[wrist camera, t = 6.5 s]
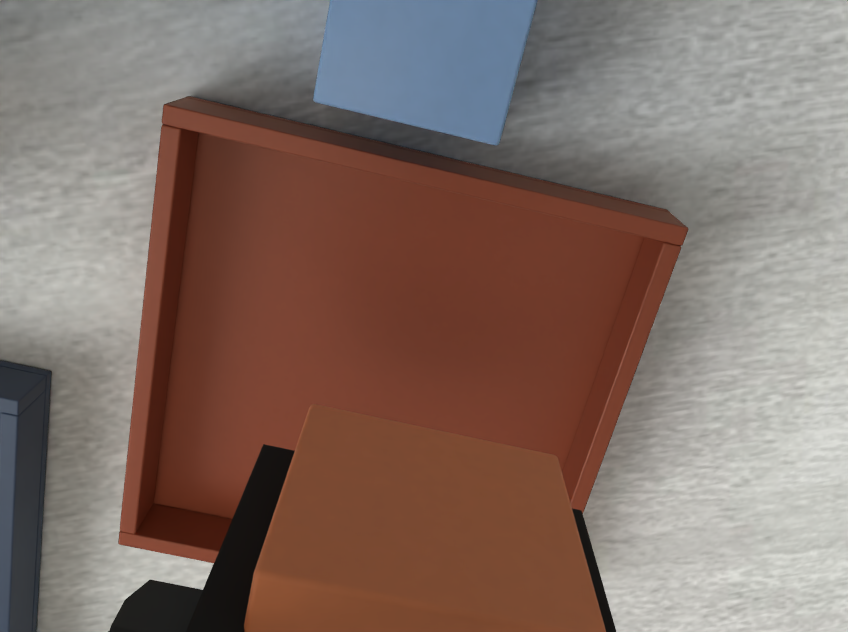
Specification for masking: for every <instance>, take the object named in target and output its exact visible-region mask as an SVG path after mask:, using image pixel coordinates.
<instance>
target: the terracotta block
mask: <svg viewBox="0 0 848 632" xmlns="http://www.w3.org/2000/svg"><path fill="white" fill-rule="evenodd" d="M244 630H245V631H244V632H606V629H605V626H604V622H603V619H602V615H601V611H600V608H599V604H598V601H597V597H596V593H595V590H594V586H593V583H592V579H591V575H590V572H589V568H588V565H587V561H586V558H585V554H584V550H583V547H582V543H581V540H580V536H579V532H578V529H577V525H576V522H575V518H574V514H573V511H572V507H571V504H570V500H569V496H568V493H567V489H566V486H565V482H564V479H563V475H562V471H561V468H560V464H559V461H558V457H557V456H555V455H552V454H547V453H542V452H538V451H533V450H528V449H523V448H519V447H514V446H509V445H505V444H500V443H495V442H491V441H486V440H481V439H476V438H472V437H467V436H462V435H458V434H453V433H448V432H443V431H439V430H434V429H429V428H425V427H420V426H415V425H411V424H406V423H401V422H396V421H392V420H387V419H382V418H378V417H373V416H368V415H363V414H359V413H354V412H349V411H345V410H340V409H335V408H330V407H326V406H321V405H316V404H313V405H311V406H310V408H309V410H308V413H307V416H306V419H305V422H304V425H303V428H302V431H301V434H300V437H299V440H298V443H297V446H296V449H295V452H294V455H293V458H292V461H291V464H290V467H289V470H288V473H287V476H286V479H285V482H284V484H283V487H282V490H281V493H280V496H279V499H278V502H277V505H276V508H275V511H274V514H273V517H272V520H271V523H270V526H269V529H268V532H267V535H266V538H265V541H264V544H263V547H262V550H261V553H260V556H259V559H258V562H257V565H256V568H255V571H254V574H253V579H252V585H251V590H250V596H249V601H248V606H247V612H246V617H245V622H244Z"/></svg>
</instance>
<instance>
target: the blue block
mask: <svg viewBox="0 0 848 632" xmlns="http://www.w3.org/2000/svg"><path fill="white" fill-rule="evenodd" d="M536 4H537V0H330V4H329V10H328V16H327V21H326V27H325V33H324V39H323V44H322V50H321V56H320V62H319V68H318V73H317V79H316V85H315V91H314V97H313V99H314V101H315V102H316V103H320V104H324V105H328V106H332V107H336V108H341V109H345V110H349V111H353V112H357V113H361V114H366V115H370V116H374V117H378V118H382V119H386V120H391V121H395V122H399V123H403V124H407V125H411V126H416V127H420V128H424V129H428V130H432V131H436V132H441V133H445V134H449V135H453V136H457V137H461V138H466V139H470V140H474V141H478V142H482V143H487V144H491V145H498V144H499V143H500V140H501V136H502V132H503V128H504V125H505V121H506V117H507V113H508V110H509V106H510V102H511V98H512V95H513V91H514V87H515V83H516V80H517V76H518V72H519V68H520V64H521V61H522V57H523V53H524V49H525V46H526V42H527V38H528V34H529V31H530V27H531V23H532V19H533V15H534V12H535V8H536Z"/></svg>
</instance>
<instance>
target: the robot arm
mask: <svg viewBox="0 0 848 632" xmlns="http://www.w3.org/2000/svg"><path fill="white" fill-rule="evenodd" d="M294 452H295V451H294V450H289V449H284V448H280V447H275V446H270V445H265V444H263V446H262V448H261V451H260V453H259V456H258V458H257V461H256V463H255V465H254V468H253V470H252V473H251V475H250V477H249V480H248V482H247V485H246V487H245V490H244V492H243V494H242V497H241V499H240V502H239V504H238V507H237V509H236V511H235V514H234V516H233V519H232V521H231V524H230V526H229V528H228V531H227V533H226V536H225V538H224V541H223V543H222V545H221V548H220V550H219V553H218V555H217V557H216V560H215V562H214V565H213V567H212V570H211V572H210V574H209V577H208V579H207V582H206V584H205V587H204V589H203V590H200V589H195V588H190V587H185V586H180V585H175V584H170V583H164V582H159V581H154V580H149V581H148V582H147V583H145V584H144V585H143V586H142V587H140V588H139V589H138V590H137V591H135V592H134V593H133V594H132V595H131V596H129V597H128V598H127V599H126V600H125V601H124V603H123V605H122V607H121V608H120V610H119V612H118V614H117V616H116V618H115V620H114V621H113V623H112V625H111V628H110V631H108V632H244V631H245V630H244V622H245V617H246V612H247V606H248V601H249V596H250V590H251V585H252V579H253V574H254V571H255V568H256V565H257V562H258V559H259V556H260V553H261V550H262V547H263V544H264V541H265V538H266V535H267V532H268V529H269V526H270V523H271V520H272V517H273V514H274V511H275V508H276V505H277V502H278V499H279V496H280V493H281V490H282V487H283V484H284V482H285V479H286V476H287V473H288V470H289V467H290V464H291V461H292V458H293V455H294ZM572 511H573V514H574V518H575V522H576V525H577V529H578V532H579V536H580V540H581V543H582V547H583V550H584V554H585V558H586V561H587V565H588V568H589V572H590V575H591V579H592V583H593V586H594V590H595V593H596V597H597V601H598V604H599V608H600V611H601V615H602V619H603V622H604V626H605V629H606V632H616V629H615V626H614V622H613V619H612V615H611V612H610V608H609V605H608V601H607V598H606V594H605V591H604V587H603V584H602V580H601V577H600V573H599V570H598V566H597V563H596V559H595V556H594V552H593V549H592V545H591V542H590V538H589V535H588V532H587V528H586V525H585V521H584V518H583V514H582V511H581V510H578V509H573V508H572Z"/></svg>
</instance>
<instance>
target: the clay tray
mask: <svg viewBox="0 0 848 632" xmlns="http://www.w3.org/2000/svg"><path fill="white" fill-rule="evenodd" d="M162 124H163V125H162V127H161V136H160V146H159V156H158V165H157V175H156V185H155V194H154V204H153V213H152V223H151V233H150V242H149V252H148V262H147V271H146V281H145V291H144V300H143V310H142V320H141V329H140V339H139V348H138V358H137V368H136V377H135V387H134V397H133V406H132V416H131V426H130V435H129V445H128V455H127V464H126V474H125V483H124V493H123V503H122V512H121V522H120V532H119V541H118V543H119V544H120V545H125V546H130V547H135V548H140V549H145V550H150V551H155V552H160V553H165V554H171V555H176V556H181V557H186V558H191V559H196V560H201V561H206V562H211V563H214V562H215V560H216V557H217V555H218V553H219V550H220V548H221V545H222V543H223V541H224V538H225V536H226V533H227V531H228V528H229V526H230V524H231V521H232V519H233V516H234V514H235V511H236V509H237V507H238V504H239V502H240V499H241V497H242V494H243V492H244V490H245V487H246V485H247V482H248V480H249V477H250V475H251V473H252V470H253V468H254V465H255V463H256V461H257V458H258V456H259V453H260V451H261V448H262V446H263V444H265V445H270V446H275V447H280V448H284V449H289V450H294V451H295V449H296V446H297V443H298V440H299V437H300V434H301V431H302V428H303V425H304V422H305V419H306V416H307V413H308V410H309V408H310V406H311V405H313V404H316V405H321V406H326V407H330V408H335V409H340V410H345V411H349V412H354V413H359V414H363V415H368V416H373V417H378V418H382V419H387V420H392V421H396V422H401V423H406V424H411V425H415V426H420V427H425V428H429V429H434V430H439V431H443V432H448V433H453V434H458V435H462V436H467V437H472V438H476V439H481V440H486V441H491V442H495V443H500V444H505V445H509V446H514V447H519V448H523V449H528V450H533V451H538V452H542V453H547V454H552V455H555V456H557V457H558V461H559V464H560V468H561V471H562V475H563V479H564V482H565V486H566V489H567V493H568V496H569V500H570V504H571V507H572V508H573V509H578V510H581V511H582V514H583V512H584V509H585V506H586V504H587V501H588V498H589V496H590V493H591V490H592V488H593V485H594V482H595V479H596V477H597V474H598V471H599V469H600V466H601V463H602V461H603V458H604V455H605V452H606V450H607V447H608V444H609V442H610V439H611V436H612V434H613V431H614V428H615V425H616V423H617V420H618V417H619V415H620V412H621V409H622V407H623V404H624V401H625V398H626V396H627V393H628V390H629V388H630V385H631V382H632V380H633V377H634V374H635V371H636V369H637V366H638V363H639V361H640V358H641V355H642V353H643V350H644V347H645V344H646V342H647V339H648V336H649V334H650V331H651V328H652V326H653V323H654V320H655V317H656V315H657V312H658V309H659V307H660V304H661V301H662V299H663V296H664V293H665V290H666V288H667V285H668V282H669V280H670V277H671V274H672V272H673V269H674V266H675V263H676V261H677V258H678V255H679V253H680V250H681V245H683V242H684V240H685V237H686V234H687V232H688V228H687V227H686V226H685V225H684V224H683V223H682V222H680V221H679V220H678V219H677V218H676V217H675V216H674V215H672V214H671V213H670V212H669V211H668V210H666V209H662V208H658V207H653V206H649V205H645V204H641V203H637V202H632V201H628V200H624V199H620V198H616V197H611V196H607V195H603V194H599V193H595V192H590V191H586V190H582V189H578V188H574V187H569V186H565V185H561V184H557V183H552V182H548V181H544V180H540V179H536V178H531V177H527V176H523V175H519V174H515V173H510V172H506V171H502V170H498V169H494V168H489V167H485V166H481V165H477V164H473V163H468V162H464V161H460V160H456V159H452V158H447V157H443V156H439V155H435V154H431V153H426V152H422V151H418V150H414V149H409V148H405V147H401V146H397V145H393V144H388V143H384V142H380V141H376V140H372V139H367V138H363V137H359V136H355V135H351V134H346V133H342V132H338V131H334V130H330V129H325V128H321V127H317V126H313V125H309V124H304V123H300V122H296V121H292V120H288V119H283V118H279V117H275V116H271V115H266V114H262V113H258V112H254V111H250V110H245V109H241V108H237V107H233V106H229V105H224V104H220V103H216V102H212V101H208V100H203V99H199V98H195V97H191V96H187V97H185V98H182V99H179V100H176V101H173V102H170V103H167V104H164V106H163V116H162Z"/></svg>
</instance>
